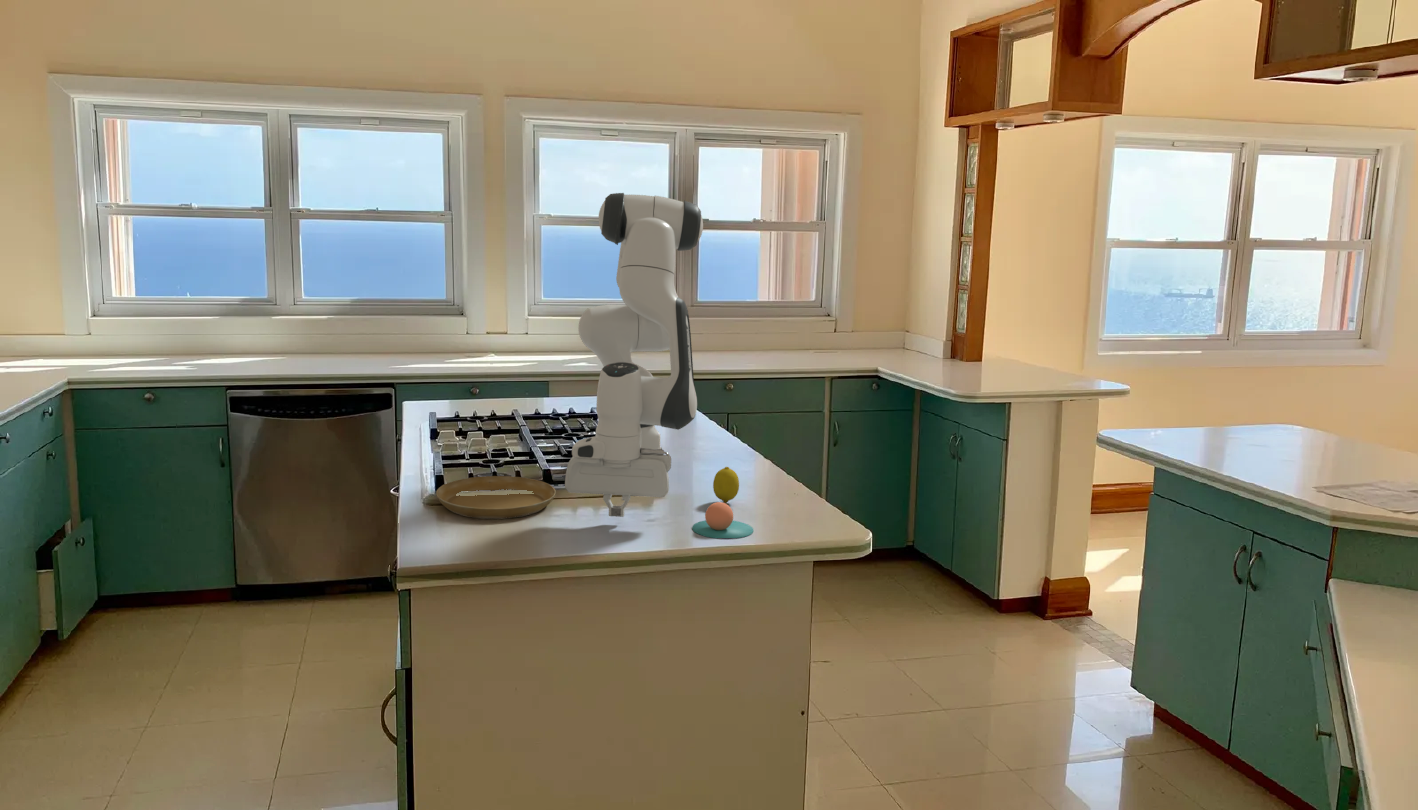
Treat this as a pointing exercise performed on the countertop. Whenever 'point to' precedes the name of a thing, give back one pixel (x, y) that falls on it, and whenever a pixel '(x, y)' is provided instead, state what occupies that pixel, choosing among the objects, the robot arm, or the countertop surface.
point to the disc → (732, 531)
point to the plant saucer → (496, 497)
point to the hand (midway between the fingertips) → (616, 515)
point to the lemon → (726, 484)
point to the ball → (719, 516)
